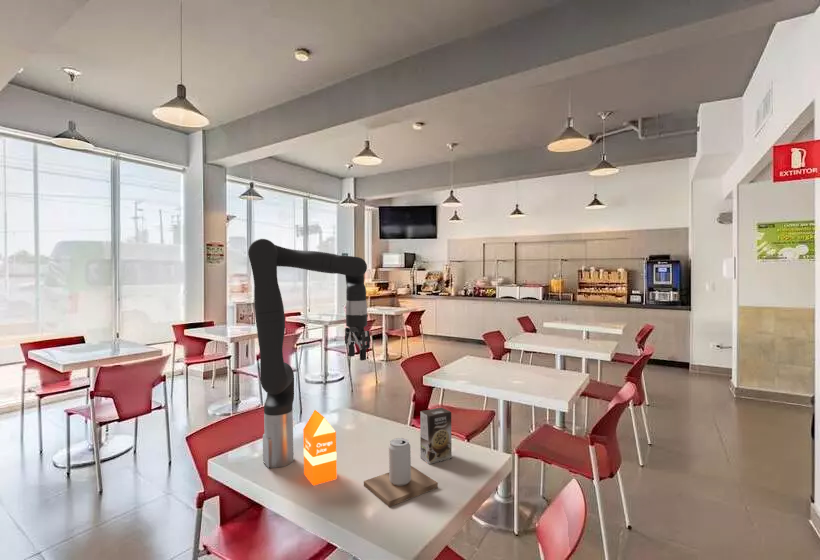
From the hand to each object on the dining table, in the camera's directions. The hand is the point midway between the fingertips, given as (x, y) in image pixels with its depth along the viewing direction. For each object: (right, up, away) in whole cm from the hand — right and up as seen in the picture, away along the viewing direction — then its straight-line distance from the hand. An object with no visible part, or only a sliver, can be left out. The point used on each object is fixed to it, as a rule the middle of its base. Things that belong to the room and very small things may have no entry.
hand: (357, 358), depth 149 cm
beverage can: (+16, -32, -26) cm, 44 cm away
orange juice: (-9, -34, -19) cm, 40 cm away
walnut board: (+16, -33, -26) cm, 45 cm away
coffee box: (+28, -33, -7) cm, 44 cm away
